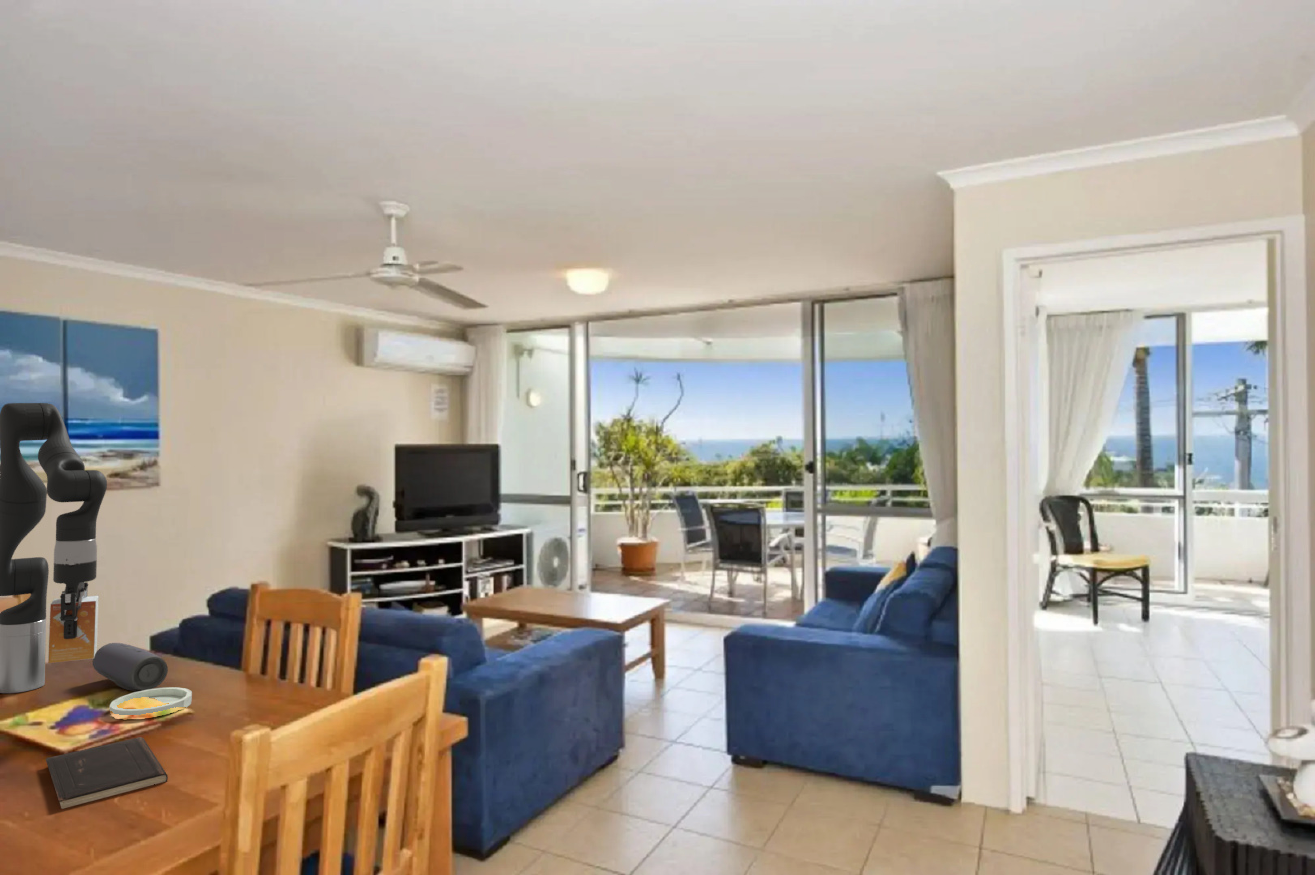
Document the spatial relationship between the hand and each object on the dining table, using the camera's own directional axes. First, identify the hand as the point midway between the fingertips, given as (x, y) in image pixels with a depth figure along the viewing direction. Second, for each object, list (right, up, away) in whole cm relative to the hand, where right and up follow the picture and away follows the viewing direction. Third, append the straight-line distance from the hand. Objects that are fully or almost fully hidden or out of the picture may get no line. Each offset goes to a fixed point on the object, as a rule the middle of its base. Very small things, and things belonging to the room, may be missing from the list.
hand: (73, 634), depth 163 cm
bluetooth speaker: (-8, -21, +28) cm, 36 cm away
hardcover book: (+24, -22, -22) cm, 39 cm away
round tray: (+9, -21, +13) cm, 26 cm away
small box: (0, -5, 0) cm, 5 cm away
